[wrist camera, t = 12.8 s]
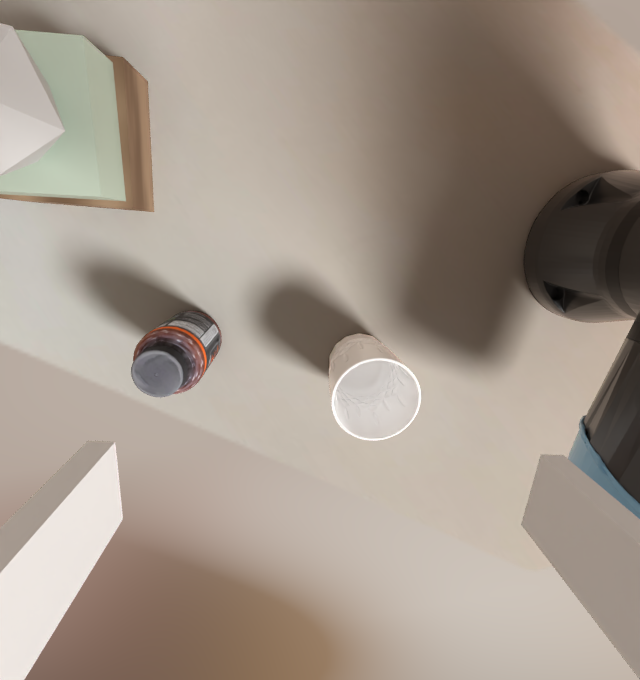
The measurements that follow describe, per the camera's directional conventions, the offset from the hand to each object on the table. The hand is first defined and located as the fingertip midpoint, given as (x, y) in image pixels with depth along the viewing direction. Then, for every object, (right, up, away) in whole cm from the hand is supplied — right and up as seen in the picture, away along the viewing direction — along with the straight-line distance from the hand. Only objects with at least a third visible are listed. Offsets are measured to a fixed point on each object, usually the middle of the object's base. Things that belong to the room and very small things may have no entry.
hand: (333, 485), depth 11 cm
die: (-21, +20, +14) cm, 32 cm away
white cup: (+4, +2, +30) cm, 30 cm away
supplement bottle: (-14, +5, +28) cm, 32 cm away
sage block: (-22, +21, +18) cm, 35 cm away
